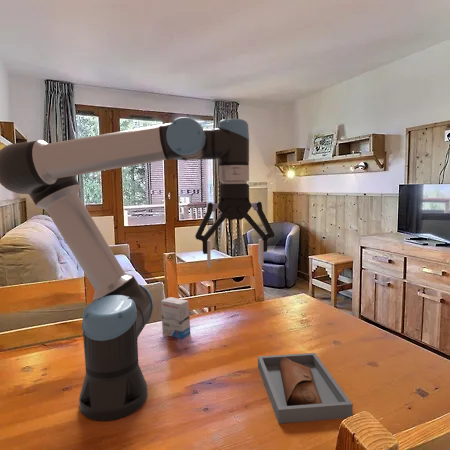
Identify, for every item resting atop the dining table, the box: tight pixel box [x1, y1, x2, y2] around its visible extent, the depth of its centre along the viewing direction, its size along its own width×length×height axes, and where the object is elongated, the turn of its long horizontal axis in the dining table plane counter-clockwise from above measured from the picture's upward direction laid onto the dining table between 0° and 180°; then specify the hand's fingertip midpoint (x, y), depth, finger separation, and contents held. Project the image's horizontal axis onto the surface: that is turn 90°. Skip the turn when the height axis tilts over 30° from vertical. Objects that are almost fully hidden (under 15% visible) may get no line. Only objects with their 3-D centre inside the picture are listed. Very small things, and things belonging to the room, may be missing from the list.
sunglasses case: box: [279, 357, 322, 406], centre depth 86 cm, size 18×7×7 cm
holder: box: [257, 352, 354, 424], centre depth 86 cm, size 16×23×3 cm
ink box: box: [160, 296, 191, 340], centre depth 118 cm, size 9×5×12 cm, turn 58°
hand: (235, 265), depth 92 cm, fingers open, 13 cm apart
